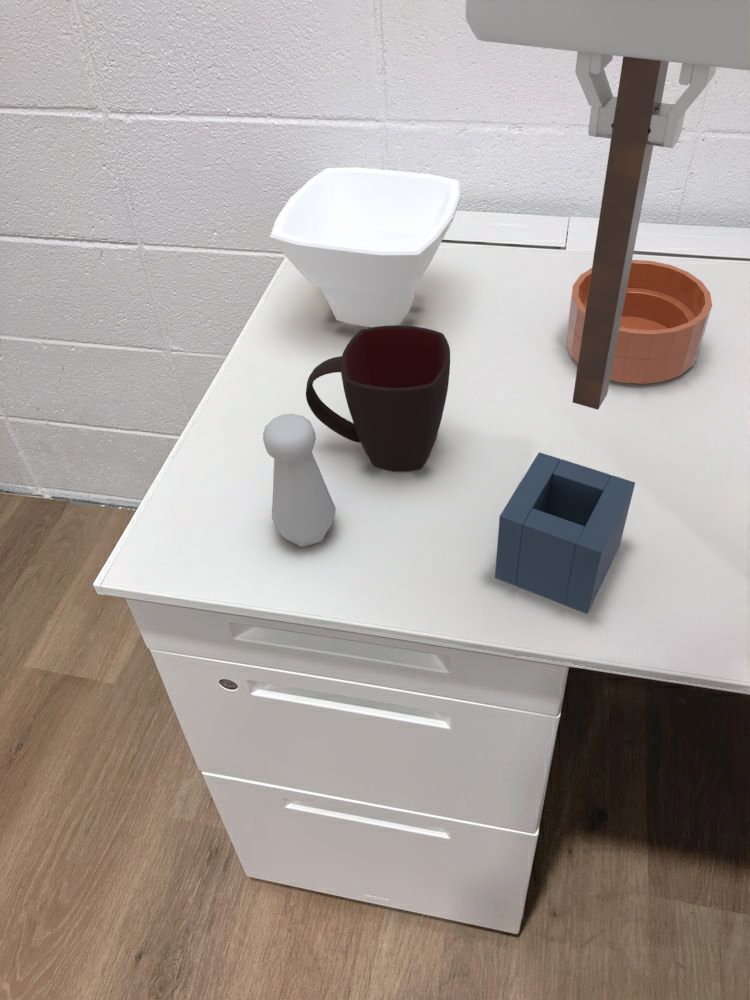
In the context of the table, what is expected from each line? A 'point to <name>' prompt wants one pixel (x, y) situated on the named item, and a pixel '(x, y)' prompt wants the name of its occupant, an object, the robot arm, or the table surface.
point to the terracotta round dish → (650, 322)
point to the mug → (389, 393)
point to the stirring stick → (618, 224)
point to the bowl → (366, 237)
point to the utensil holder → (562, 530)
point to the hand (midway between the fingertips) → (633, 138)
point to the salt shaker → (297, 481)
